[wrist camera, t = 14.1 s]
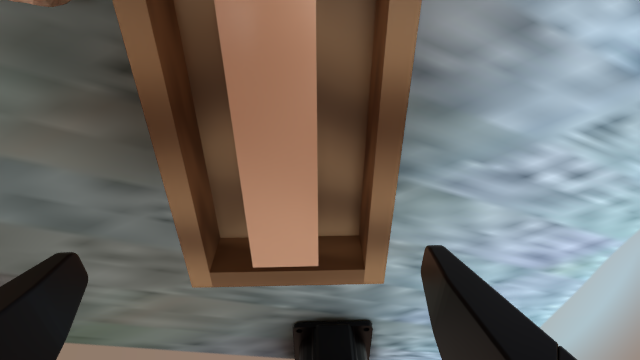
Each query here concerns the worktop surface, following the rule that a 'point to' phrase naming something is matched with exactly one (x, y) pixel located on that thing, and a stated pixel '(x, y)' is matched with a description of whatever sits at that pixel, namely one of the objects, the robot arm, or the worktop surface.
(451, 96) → the worktop surface
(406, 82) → the wooden open tray
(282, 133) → the clay strip
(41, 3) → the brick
